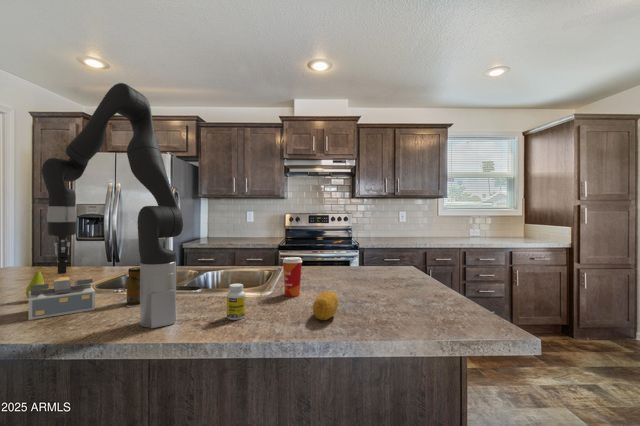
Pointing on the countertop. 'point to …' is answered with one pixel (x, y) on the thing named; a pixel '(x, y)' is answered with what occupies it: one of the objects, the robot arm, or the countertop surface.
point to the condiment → (133, 287)
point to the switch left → (39, 287)
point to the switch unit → (61, 302)
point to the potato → (325, 305)
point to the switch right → (83, 282)
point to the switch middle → (62, 285)
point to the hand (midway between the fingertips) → (61, 273)
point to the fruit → (35, 282)
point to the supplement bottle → (236, 302)
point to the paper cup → (292, 275)
